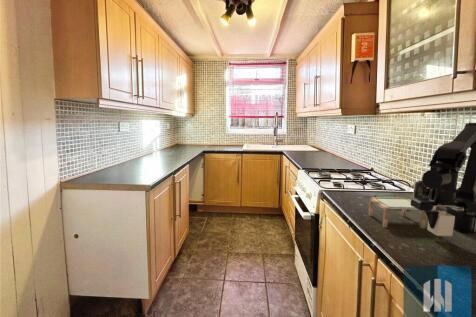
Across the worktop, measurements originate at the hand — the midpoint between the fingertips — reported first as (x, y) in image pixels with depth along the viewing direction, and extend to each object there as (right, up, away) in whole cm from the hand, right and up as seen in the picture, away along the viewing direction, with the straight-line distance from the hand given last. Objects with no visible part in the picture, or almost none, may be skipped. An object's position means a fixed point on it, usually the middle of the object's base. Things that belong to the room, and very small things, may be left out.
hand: (439, 228), depth 94 cm
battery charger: (+21, +2, +41) cm, 46 cm away
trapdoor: (-6, +5, +16) cm, 18 cm away
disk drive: (+5, +1, +40) cm, 40 cm away
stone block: (0, -2, 0) cm, 2 cm away
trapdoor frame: (-6, -2, +17) cm, 18 cm away
